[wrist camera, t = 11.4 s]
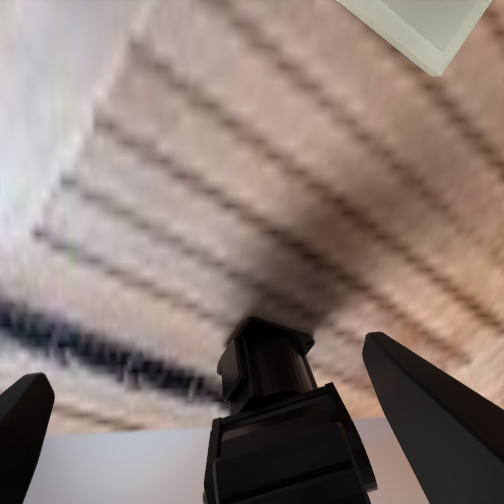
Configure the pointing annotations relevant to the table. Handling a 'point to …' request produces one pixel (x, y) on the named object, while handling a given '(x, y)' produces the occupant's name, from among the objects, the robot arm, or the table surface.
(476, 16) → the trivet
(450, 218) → the table surface
